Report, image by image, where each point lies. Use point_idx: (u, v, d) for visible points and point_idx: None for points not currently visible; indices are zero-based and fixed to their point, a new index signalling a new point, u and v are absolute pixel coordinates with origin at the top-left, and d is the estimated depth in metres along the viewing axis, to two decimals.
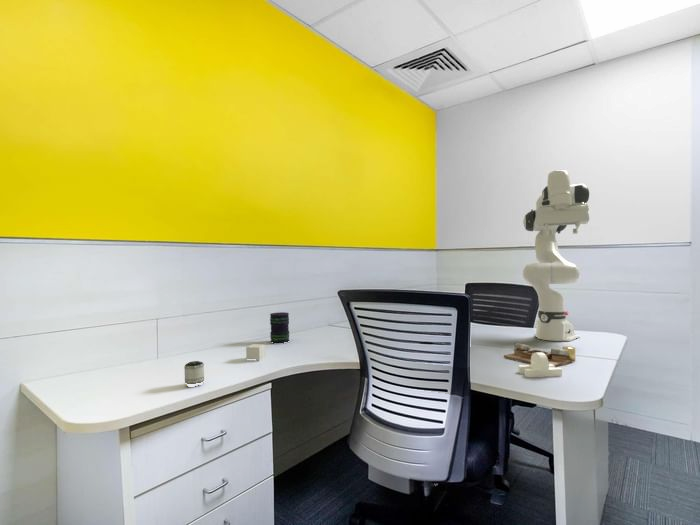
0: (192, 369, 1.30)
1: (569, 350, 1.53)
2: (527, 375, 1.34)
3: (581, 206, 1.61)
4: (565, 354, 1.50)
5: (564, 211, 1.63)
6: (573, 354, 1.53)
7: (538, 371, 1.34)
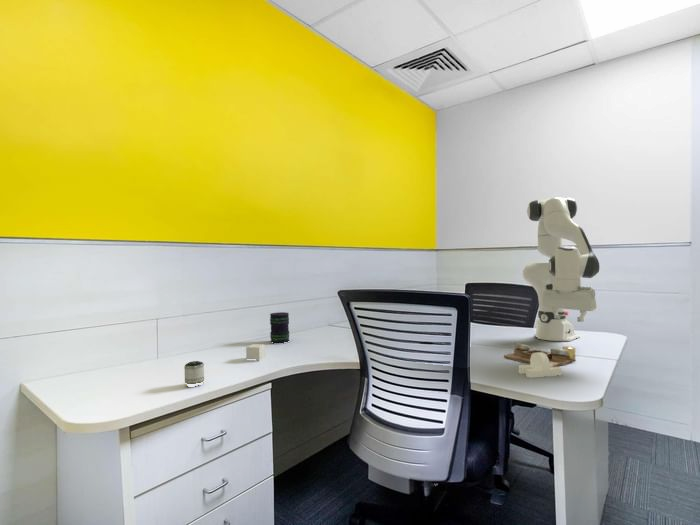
0: (192, 369, 1.30)
1: (569, 350, 1.53)
2: (529, 375, 1.34)
3: (584, 293, 1.48)
4: (565, 354, 1.50)
5: (568, 296, 1.53)
6: (573, 354, 1.53)
7: (539, 371, 1.34)
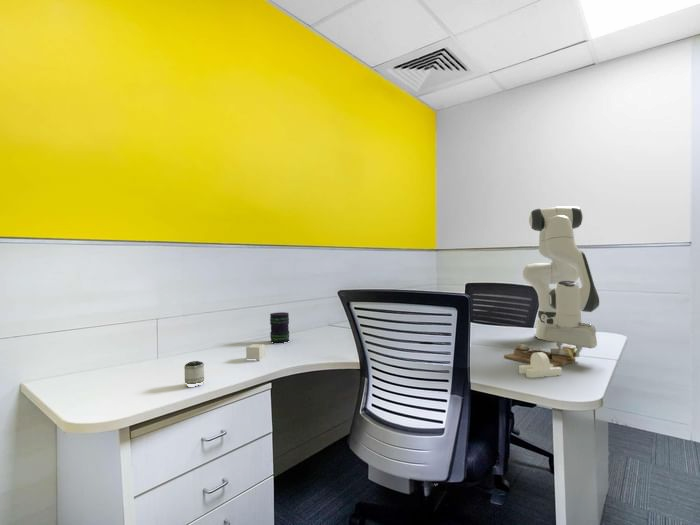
0: (192, 369, 1.30)
1: (569, 350, 1.53)
2: (529, 375, 1.34)
3: (585, 330, 1.48)
4: (565, 354, 1.50)
5: (569, 332, 1.53)
6: (573, 354, 1.53)
7: (540, 371, 1.34)
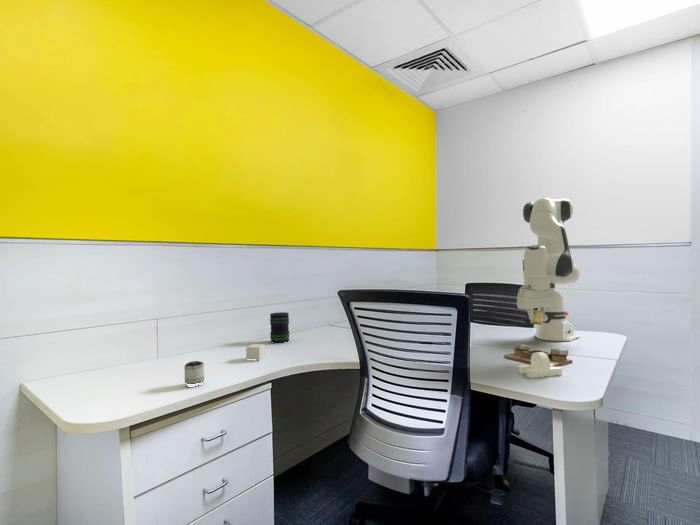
0: (192, 369, 1.30)
1: None
2: (529, 375, 1.34)
3: None
4: (565, 354, 1.50)
5: None
6: None
7: (540, 371, 1.34)
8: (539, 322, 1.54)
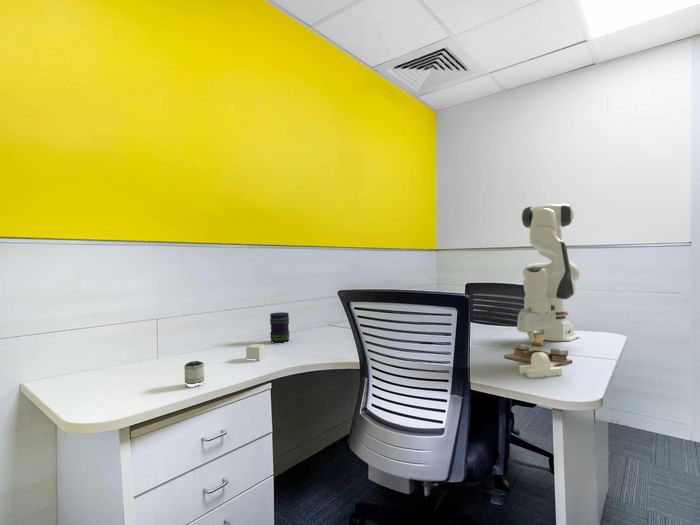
0: (192, 369, 1.30)
1: None
2: (530, 375, 1.34)
3: None
4: (565, 354, 1.50)
5: None
6: None
7: (540, 371, 1.34)
8: (539, 344, 1.54)
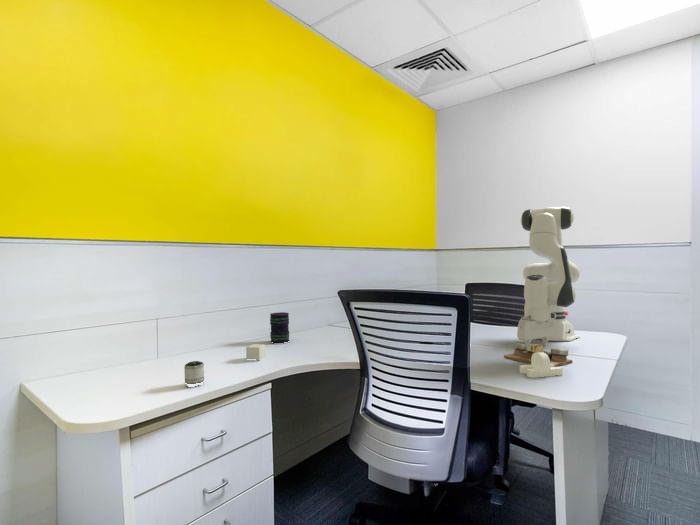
0: (192, 369, 1.30)
1: None
2: (530, 375, 1.34)
3: None
4: (565, 354, 1.50)
5: None
6: (532, 351, 1.56)
7: (540, 371, 1.34)
8: None
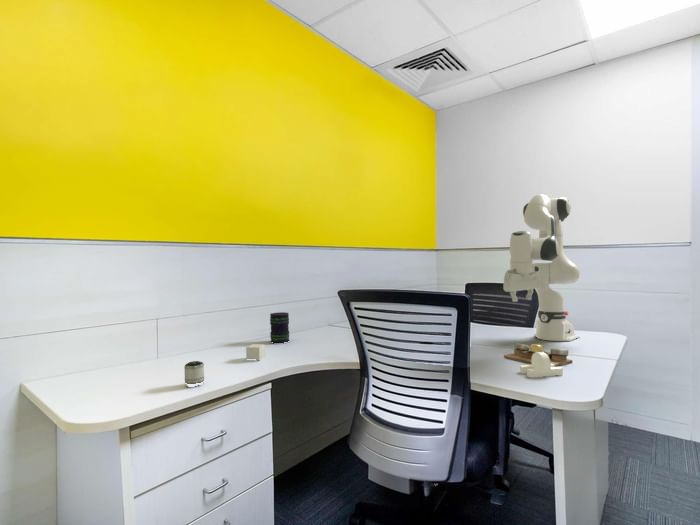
0: (192, 369, 1.30)
1: None
2: (530, 375, 1.34)
3: None
4: (565, 354, 1.50)
5: None
6: (531, 351, 1.56)
7: (541, 371, 1.34)
8: None
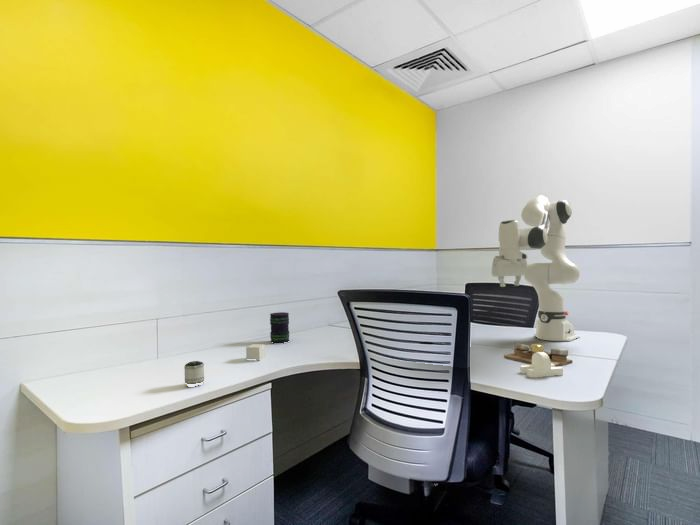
0: (192, 369, 1.30)
1: None
2: (530, 375, 1.34)
3: None
4: (565, 354, 1.50)
5: None
6: (532, 351, 1.56)
7: (541, 371, 1.34)
8: None
